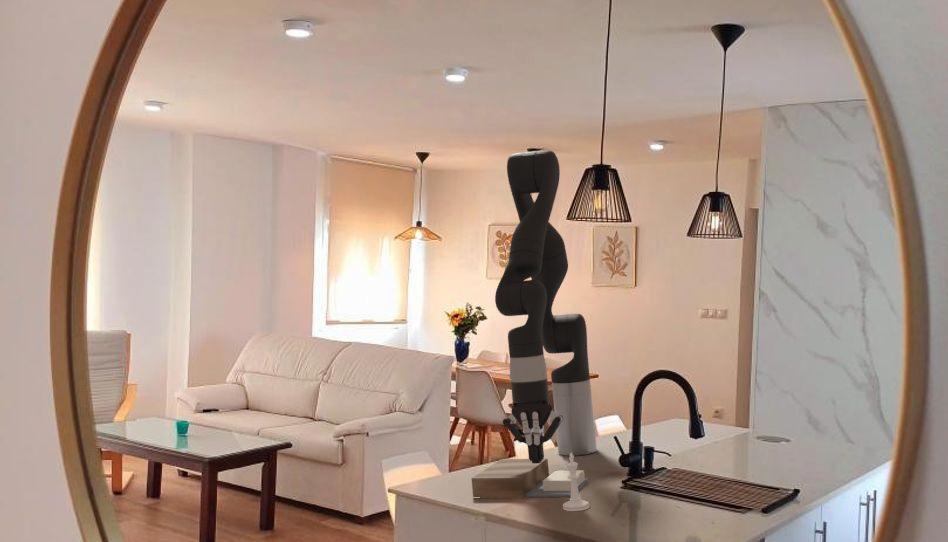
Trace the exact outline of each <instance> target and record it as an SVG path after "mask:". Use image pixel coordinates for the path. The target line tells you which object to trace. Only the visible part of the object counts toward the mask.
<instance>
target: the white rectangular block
mask: <svg viewBox="0 0 948 542" xmlns="http://www.w3.org/2000/svg"><path fill="white" fill-rule="evenodd" d="M569 475H570V472H569V470H555V471H554V472H552V473H551V474H549V476H548V477H547V478H546V479H544V480H543V489H544V491H571V479H568V476H569ZM576 475H579V478H577V479H576V481H577V486H579V485H580V484H581V483H582V482H583V481H584V480H585V478H586V477H585V470H582V469H581V470H579V469H578V470H576Z"/></svg>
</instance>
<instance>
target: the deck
mask: <svg viewBox="0 0 948 542" xmlns="http://www.w3.org/2000/svg"><path fill="white" fill-rule="evenodd" d="M548 476H550V471H549V461H548V458H547V457H544V459H543V460H542V462H541V463H532V461H530V459H529V458H501V459H499V460H498V461H496V462H495V463H493V464H492V465H490V466H489V467H487V468H485V469H484V470H482V471H481V472H479V473H478V474H476V475H475V476H473V477H472V478H471V489H472V498H473V497H480V498H479V499H524V498H526V497H525V494H526V493H528V492H529V491H530V490H531V489H533V488H534V487H535V486H536V485H538V484H539V483H540V482H541V481H542V480H544V479H545V478H547V477H548Z"/></svg>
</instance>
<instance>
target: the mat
mask: <svg viewBox="0 0 948 542" xmlns="http://www.w3.org/2000/svg"><path fill="white" fill-rule="evenodd" d="M584 478H585V480H584V481H583V482H582V483H581V484H580V485H579V486H578V491H579V490H580V489H581V488H582V487H583V486H584V485H586V483H587V482H589V481H590V477H584ZM545 479H546V478H545ZM548 497H549V498H550V497H551V498H554V497H556V498H560V497H561V498H563V497H564V498H567V497H568V498H569V497H570V498H571V491H544V489H543V480H542V481H541V482H540V483H539V484H538V485H536V486H535V487H534V488H533V489H531V490H530V491H529V492H528V493H526V494H525V497H524V498H548Z"/></svg>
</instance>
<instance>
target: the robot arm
mask: <svg viewBox="0 0 948 542" xmlns="http://www.w3.org/2000/svg"><path fill="white" fill-rule="evenodd" d="M558 159H559V158H558V156H557V154H556V153H555V152H554V151H552V150H548V149H546V150H533V151H525V152H517V153H512V154H510V156H508V159H507V163H506V172H507V173H506V174H507V179H508V184H509V188H510V192H511V196H512V198H513V202H514V205H515V209H516V213H517V215H518V221H519V223H518V224H517V226H516V227H515V229H514V231H513V233H512V236H511V241H510V248H509V254H508V255H509V256H508V261H507V262H508V263H507V265H506V267H505V269H504V271H503V274H502V276H501V278H500V281H499V283H498V285H497V288H496V291H495V294H494V295H495V297H494V301H495V306H496V309H497V311H498V312H499V313H500V314H501V315H502V316H505V317H516V316H527V319H526V322H525V324H524V325H521V326H516V327H514V328H512V329H510V330H509V331H508V333H507V342H508V353H509V380H510V386H511V399H512V407H511V410H510V411H511V413H510V414H509V415H508V416H507V417H505V418H503V420H502V424H503V425H504V426H505V427H506V429H507V430H508V431H509V432H510V433H511V434H512V436H514V438H515V439H516V440H517V442H518V443H520V444H521V443H522V444H526V445H527V452H528V459H530V461H532V463H541V462H542V460H543V459H544V458H545V454H544V453H545V452H544V443H546V442H548V441H549V440H551V439H552V438H553V436H554V434H555V433H556V441H557V450H558V454H559V455H562V456H570V453H573V456H581V455H582V456H583V455H588V454H589V455H590V454H592V453H596V452H597V441H596V438H597V437H596V429H595V428H596V427H595V419H594V418H595V417H594V408H593V407H594V406H593V405H594V404H593V396H592V389H591V388H592V387H591V386H592V385H591V379H590V378H591V377H590V376H591V375H590V365H589V364H590V363H589V357H588V355H589V354H588V334H587V324H586V319H585V318H584V316H583V314H581V313H567V314H558V315H557V314H556V315H554V314H553V311H552V309H553V304H554V301H555V298H556V296H557V294H558V292H559V289H560V288H561V286H562V284H563V282H564V279H565V278H566V275H567V273H568V271H569V270H568V269H569V262H568V261H569V260H568V256H567V255H568V254H567V250H566V246H565V245H566V244H565V241H564V239H563V236H562V235H561V233H560V232H559V231H558V230H557V229H556V228H555V227H554V225H552V224H551V223H550V222H549V221H550V217H551V214H552V212H553V211H552V210H553V207H554V203H555V200H556V195H557V193H558V189H559V184H560V183H559V182H560V176H561V175H560V173H561V171H560V163H559V160H558ZM532 194H537V197H536V199H535V201H534V199H533V196H532ZM528 279H529V280H528ZM544 351H545V352H546V353H548V354H562V353H563V354H566V353H573V356H572V358H571V360H569V361H568V362H567V363H565V364H564V365H561V366H559V367H556V368H555V369H553V370H552V371H550V377H551V379H550V380H551V387H552V396H553V406H552V404H551V403H550V395H549V394H550V393H549V391H550V390H549V385H548V384H549V383H548V372H547V371H548V370H547V364H546V359H545V355H544ZM553 407H554V408H553ZM548 420H549V423H550V425H549V427H548V428H547V430H546V431H545V433H544V430H545V428H544V426H545V425H546V423H547V422H548ZM517 422H518V423H519V425H520V426H521V427H522V429H521V428H520V426H518V424H517Z"/></svg>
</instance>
